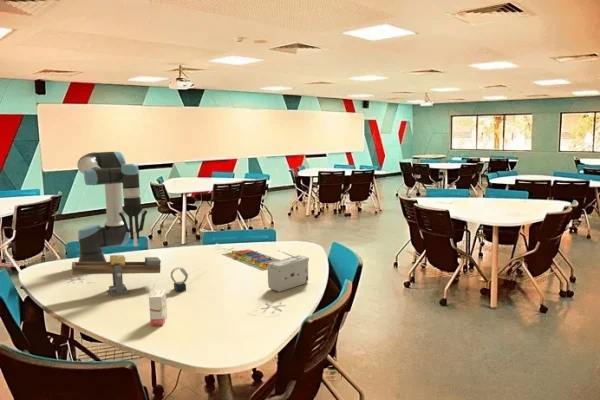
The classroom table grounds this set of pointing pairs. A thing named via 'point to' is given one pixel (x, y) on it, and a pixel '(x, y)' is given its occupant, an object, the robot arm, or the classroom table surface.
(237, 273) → the classroom table surface
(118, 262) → the brass rider
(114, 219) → the robot arm
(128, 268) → the balance beam
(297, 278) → the stereo radio cassette player
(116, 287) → the pivot stand
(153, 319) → the ink cartridge box
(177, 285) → the watch
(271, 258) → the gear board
